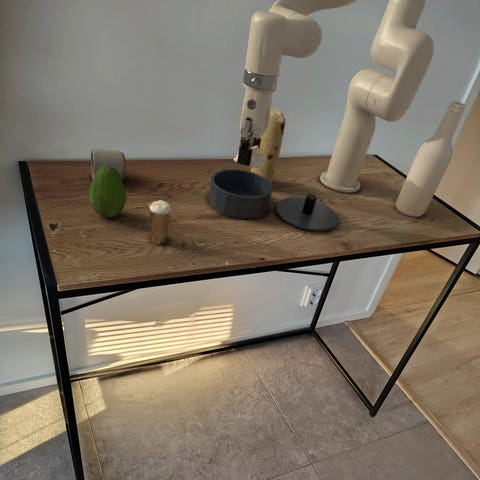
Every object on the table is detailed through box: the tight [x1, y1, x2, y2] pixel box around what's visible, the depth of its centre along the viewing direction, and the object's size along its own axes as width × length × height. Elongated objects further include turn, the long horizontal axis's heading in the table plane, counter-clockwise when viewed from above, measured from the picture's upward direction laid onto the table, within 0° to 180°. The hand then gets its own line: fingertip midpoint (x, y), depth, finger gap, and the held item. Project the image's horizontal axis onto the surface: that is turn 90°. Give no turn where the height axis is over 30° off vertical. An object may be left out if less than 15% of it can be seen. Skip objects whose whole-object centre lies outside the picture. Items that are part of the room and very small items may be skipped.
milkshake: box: [145, 196, 172, 245], centre depth 94 cm, size 4×5×10 cm
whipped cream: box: [233, 146, 265, 169], centre depth 108 cm, size 8×7×5 cm
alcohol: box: [395, 100, 467, 218], centre depth 120 cm, size 9×9×30 cm
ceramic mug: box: [90, 147, 127, 181], centre depth 113 cm, size 11×8×8 cm
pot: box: [208, 168, 273, 220], centre depth 114 cm, size 16×16×6 cm
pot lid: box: [275, 193, 339, 232], centre depth 115 cm, size 17×17×6 cm
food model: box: [250, 107, 286, 184], centre depth 121 cm, size 10×7×20 cm
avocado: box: [89, 165, 128, 218], centre depth 98 cm, size 8×8×12 cm
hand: (248, 158), depth 108 cm, fingers closed on whipped cream, 7 cm apart
